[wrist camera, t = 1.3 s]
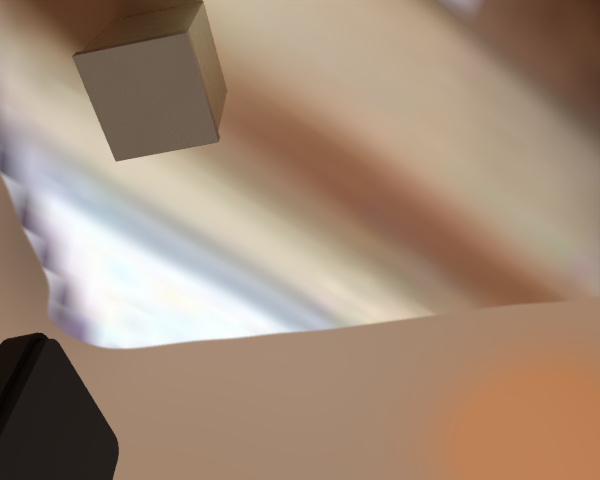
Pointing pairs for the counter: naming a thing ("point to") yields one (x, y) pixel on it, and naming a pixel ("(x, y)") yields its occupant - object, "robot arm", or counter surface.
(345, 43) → the counter surface
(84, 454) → the robot arm
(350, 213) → the counter surface
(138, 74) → the tea tin
